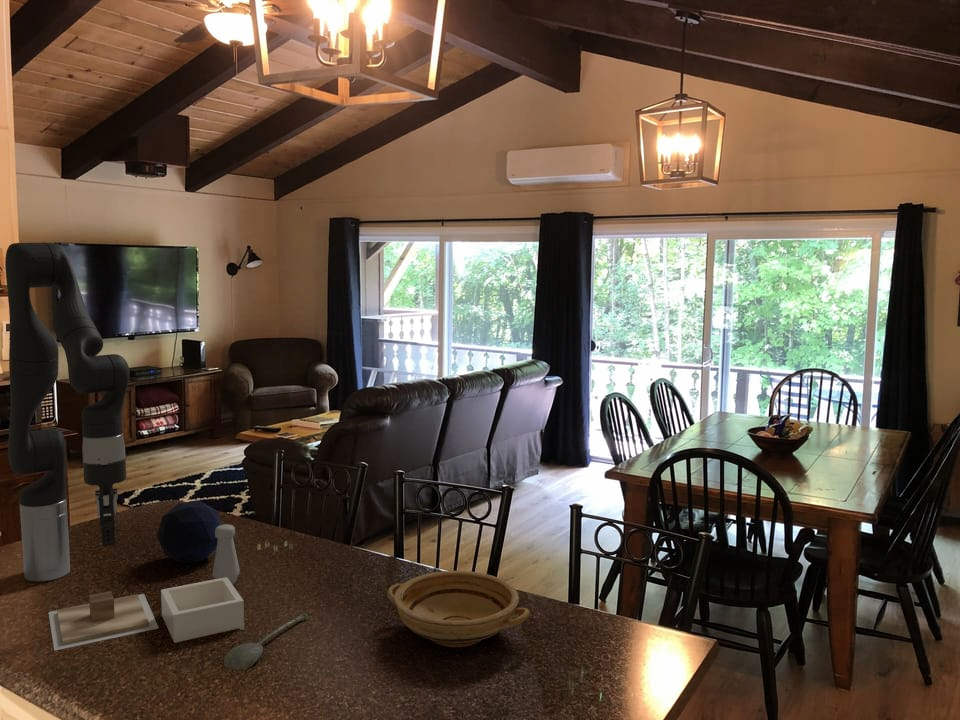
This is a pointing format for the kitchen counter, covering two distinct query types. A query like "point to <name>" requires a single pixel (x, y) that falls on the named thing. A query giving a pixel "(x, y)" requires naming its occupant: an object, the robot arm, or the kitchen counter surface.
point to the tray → (59, 645)
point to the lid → (101, 617)
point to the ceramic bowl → (457, 606)
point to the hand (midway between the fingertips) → (108, 538)
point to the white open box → (202, 609)
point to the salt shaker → (225, 554)
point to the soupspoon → (252, 650)
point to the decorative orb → (189, 532)
